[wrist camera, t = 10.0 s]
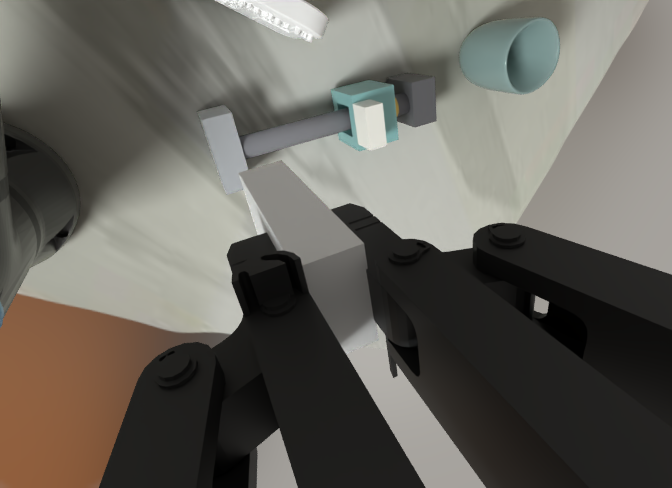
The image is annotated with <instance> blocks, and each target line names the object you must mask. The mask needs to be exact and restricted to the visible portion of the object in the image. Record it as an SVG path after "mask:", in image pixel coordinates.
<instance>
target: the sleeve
mask: <svg viewBox="0 0 672 488" xmlns="http://www.w3.org/2000/svg"><path fill="white" fill-rule="evenodd" d="M331 93H332V99H333V105H334V111H337V110H340V109H344V108H348V107H349V114H350V121H351V128H352V129H350V130H347V131H343V132H340V133H338V136H339V140H340V141H342V142H344V143H346V144H347V145H349V146H351V147H353V148H354V149H356V150H358V151H362V150H365V149H368V150H370V151H371V150H374V149H378V148H381V147H384V146H387V143H389V142H392V141H395V140H399V139H398V128H397V117H396V105H395V94H394V85H392V84H387V83H382V82H378V81H373V80H367V81H363V82H359V83H355V84H351V85H347V86H343V87H339V88H335V89H331Z"/></svg>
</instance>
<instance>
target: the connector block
mask: <svg viewBox="0 0 672 488" xmlns="http://www.w3.org/2000/svg"><path fill="white" fill-rule="evenodd" d="M386 79H387V84H392V85H394V94H395V95H396V94H400V93H405V94H406V95H407V97H408V99H409V103H410V109H409V112H408V113H407V114H403V115H400V116H397V121H398V122H401V123H404V124H407V125H409V126H412V127H418V126H421V125H425V124H428V123H431V122H435V121H436V95H435V77H433V76H426V75H419V74H412V73H405V74H401V75H397V76H393V77H389V78H386Z"/></svg>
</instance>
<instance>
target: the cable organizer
mask: <svg viewBox="0 0 672 488" xmlns="http://www.w3.org/2000/svg"><path fill="white" fill-rule="evenodd" d="M215 1H217V2H218V3H220V4H222V5H224V6H226V7H228V8H230V9H232V10H234V11H236V12H238V13H240V14H242V15H244V16H246V17H248V18H250V19H252V20H254V21H256V22H258V23H260V24H262V25H264V26H266V27H268V28H270V29H272V30H274V31H276V32H278V33H280V34H282V35H285V36H288V37H291V38H296V39H304V40H305V41H308V42H312V39H322V37H323V35H324V32H325V29H326V26H327V24H328V21H329V19H328V17H327V16H326V15H325V14H324V13H323V12H322V11H320V10H319V9H318V8H316V7H315V6H313V5H312V4H310V3H308V2H306V1H305V0H215Z"/></svg>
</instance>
